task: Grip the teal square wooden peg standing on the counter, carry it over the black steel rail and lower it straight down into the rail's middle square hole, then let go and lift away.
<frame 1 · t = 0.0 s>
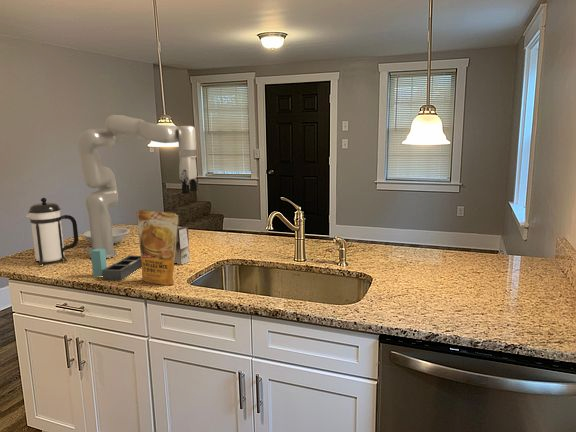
hand: (189, 192, 202), 31 cm above the worktop, tool pointing down, fingers open, 9 cm apart
peg: (100, 275, 184), on the worktop
soup bowl: (107, 244, 239), on the worktop
coffee press: (53, 261, 207), on the worktop
pancake mix bag: (159, 281, 176), on the worktop
rail: (125, 271, 189), on the worktop
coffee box: (178, 262, 202), on the worktop
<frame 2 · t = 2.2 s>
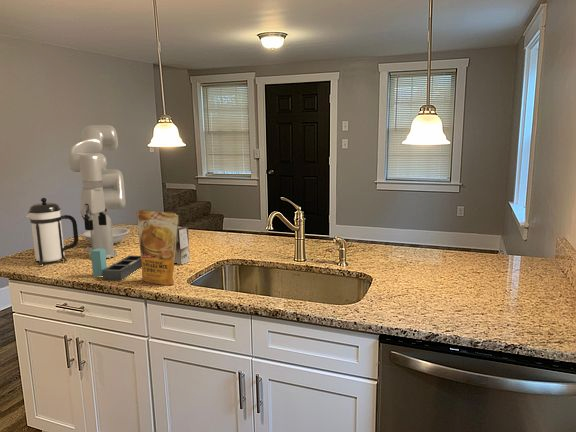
hand: (96, 227, 181), 20 cm above the worktop, tool pointing down, fingers open, 9 cm apart
nothing on the worktop moved.
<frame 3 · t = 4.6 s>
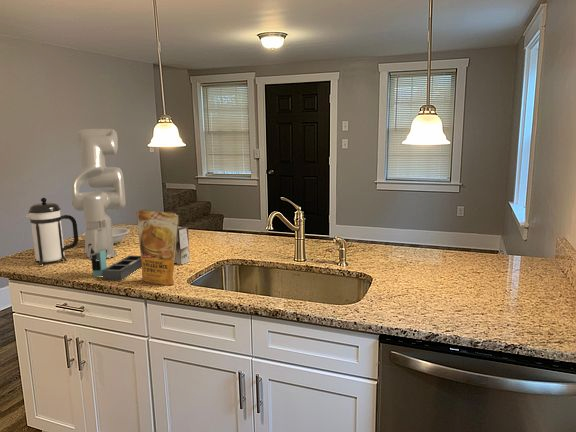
hand: (99, 268, 184), 3 cm above the worktop, tool pointing down, fingers closed on peg, 4 cm apart
peg: (100, 275, 184), on the worktop, touching gripper
everything else where it was.
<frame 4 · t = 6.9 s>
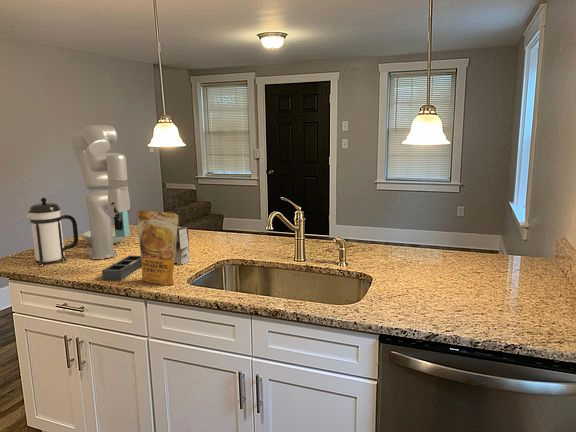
hand: (121, 228, 186), 19 cm above the worktop, tool pointing down, fingers closed on peg, 4 cm apart
peg: (122, 235, 186), point 16 cm above the worktop, touching gripper
everything else where it was.
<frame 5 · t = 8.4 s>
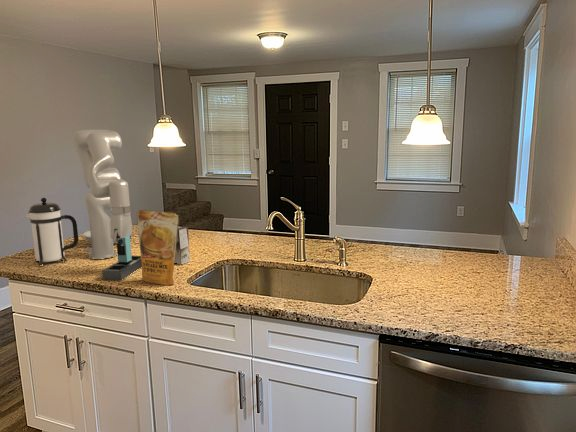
hand: (124, 253, 187), 8 cm above the worktop, tool pointing down, fingers closed on peg, 4 cm apart
peg: (125, 260, 188), point 5 cm above the worktop, touching gripper
everything else where it was.
when the fingers open (5 cm above the worktop, at t = 9.3 s): peg drops 1 cm, resting in rail.
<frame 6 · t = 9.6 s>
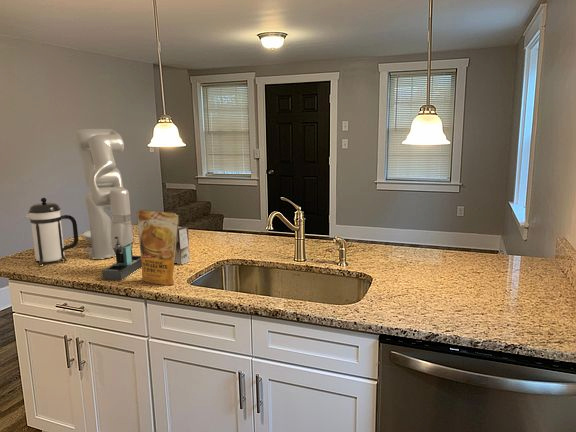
hand: (124, 260, 188), 5 cm above the worktop, tool pointing down, fingers open, 6 cm apart
peg: (125, 271, 189), resting in rail
everything else where it was.
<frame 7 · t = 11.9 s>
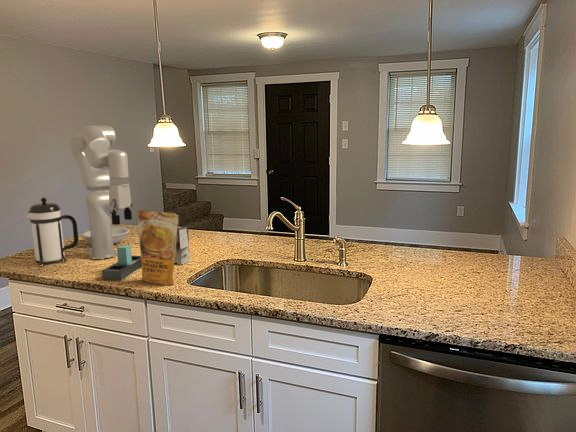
hand: (122, 221, 188), 21 cm above the worktop, tool pointing down, fingers open, 9 cm apart
nothing on the worktop moved.
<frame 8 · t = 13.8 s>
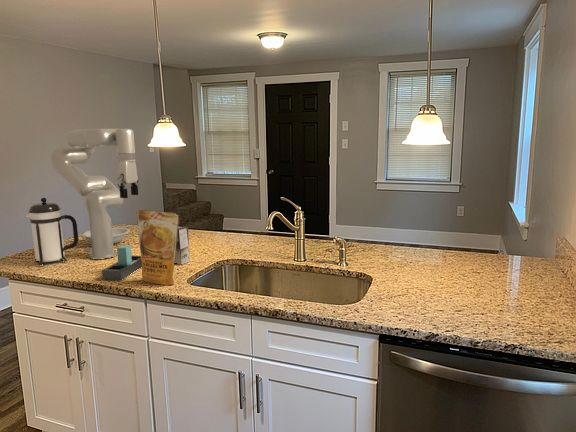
hand: (129, 196, 198), 30 cm above the worktop, tool pointing down, fingers open, 9 cm apart
nothing on the worktop moved.
at the end: peg 0.1 cm off-centre on the rail, point 0.0 cm above the rail's base; peg tilted 0°; the gripper is holding nothing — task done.
